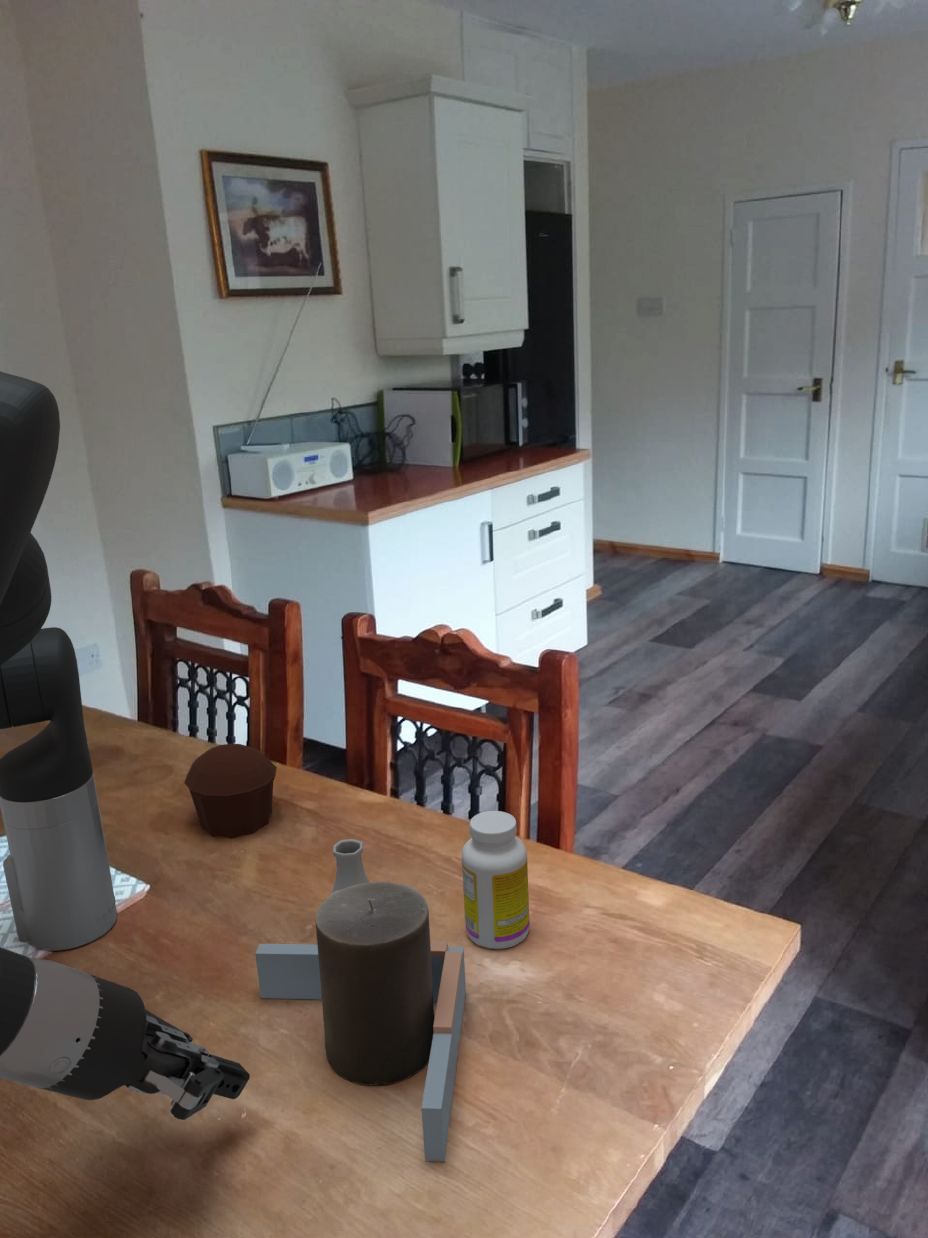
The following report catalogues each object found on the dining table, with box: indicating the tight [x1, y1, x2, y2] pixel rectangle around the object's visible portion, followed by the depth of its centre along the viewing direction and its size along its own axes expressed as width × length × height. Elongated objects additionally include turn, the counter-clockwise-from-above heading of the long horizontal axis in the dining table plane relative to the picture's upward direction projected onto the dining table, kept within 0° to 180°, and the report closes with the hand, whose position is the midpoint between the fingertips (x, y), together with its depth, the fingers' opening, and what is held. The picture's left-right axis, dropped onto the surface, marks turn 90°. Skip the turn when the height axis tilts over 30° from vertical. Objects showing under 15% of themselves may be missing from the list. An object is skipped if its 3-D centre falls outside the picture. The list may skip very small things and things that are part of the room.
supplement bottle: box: [461, 810, 530, 950], centre depth 100 cm, size 7×7×13 cm
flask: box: [331, 838, 371, 893], centre depth 102 cm, size 7×7×10 cm
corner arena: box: [254, 940, 467, 1163], centre depth 84 cm, size 20×20×6 cm
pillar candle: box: [314, 881, 435, 1086], centre depth 85 cm, size 10×10×15 cm
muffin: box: [184, 743, 277, 840], centre depth 126 cm, size 12×11×10 cm
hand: (239, 1082), depth 78 cm, fingers closed
